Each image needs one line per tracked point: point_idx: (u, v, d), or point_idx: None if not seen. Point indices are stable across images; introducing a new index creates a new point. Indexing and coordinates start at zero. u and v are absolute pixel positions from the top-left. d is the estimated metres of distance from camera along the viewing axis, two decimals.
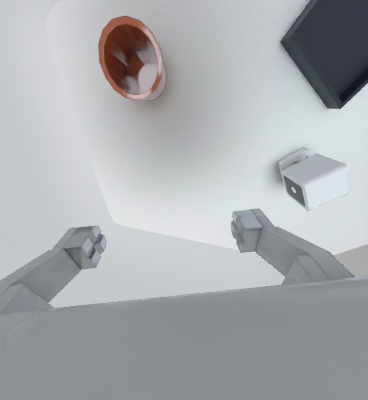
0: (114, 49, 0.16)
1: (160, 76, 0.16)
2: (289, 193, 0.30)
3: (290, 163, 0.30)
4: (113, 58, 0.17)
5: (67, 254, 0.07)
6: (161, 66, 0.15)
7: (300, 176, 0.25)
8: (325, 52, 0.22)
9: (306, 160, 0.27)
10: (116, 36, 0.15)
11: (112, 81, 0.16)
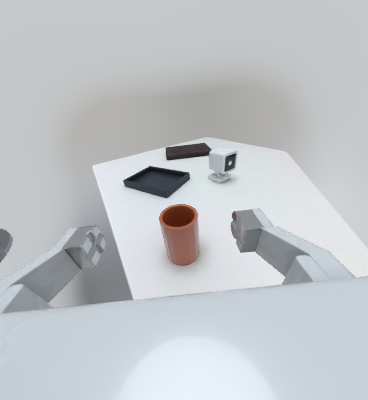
0: None
1: (183, 204, 0.26)
2: (234, 166, 0.49)
3: (218, 177, 0.51)
4: None
5: (67, 254, 0.07)
6: (179, 204, 0.27)
7: (220, 161, 0.45)
8: (170, 185, 0.51)
9: (213, 168, 0.49)
10: None
11: (188, 224, 0.22)
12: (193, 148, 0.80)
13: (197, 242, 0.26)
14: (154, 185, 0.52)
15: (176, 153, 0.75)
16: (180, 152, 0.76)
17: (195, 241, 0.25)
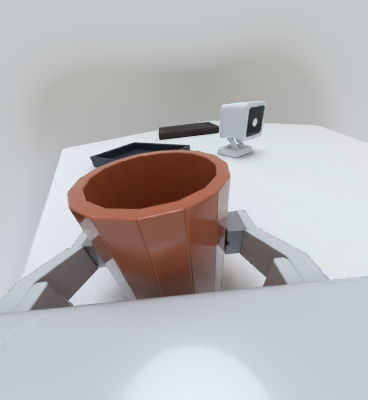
0: None
1: (176, 150, 0.09)
2: (259, 130, 0.31)
3: (233, 149, 0.34)
4: None
5: (86, 252, 0.07)
6: (162, 151, 0.09)
7: (241, 118, 0.28)
8: None
9: (226, 134, 0.32)
10: None
11: (195, 194, 0.04)
12: (194, 126, 0.62)
13: (220, 268, 0.08)
14: None
15: (172, 131, 0.57)
16: (177, 129, 0.58)
17: (217, 266, 0.07)
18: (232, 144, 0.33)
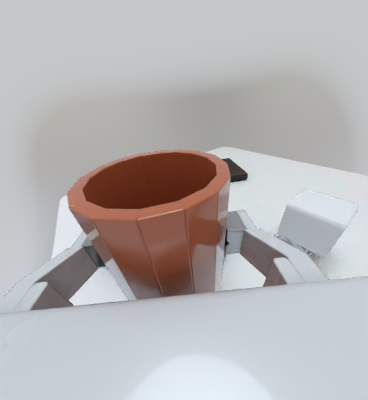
0: None
1: (176, 150, 0.09)
2: None
3: None
4: None
5: (86, 252, 0.07)
6: (162, 151, 0.09)
7: (326, 235, 0.18)
8: None
9: (291, 238, 0.22)
10: None
11: (195, 194, 0.04)
12: None
13: (220, 268, 0.08)
14: None
15: None
16: None
17: (217, 266, 0.07)
18: (294, 244, 0.24)
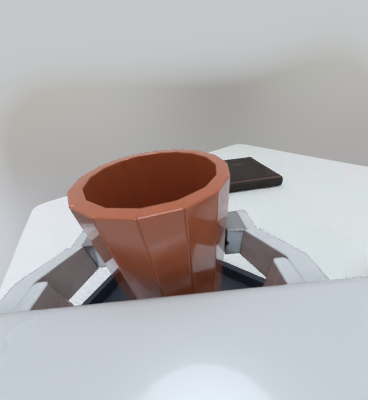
0: None
1: (176, 150, 0.09)
2: None
3: None
4: None
5: (86, 252, 0.07)
6: (162, 150, 0.09)
7: None
8: None
9: None
10: None
11: (195, 194, 0.04)
12: (236, 169, 0.41)
13: (220, 267, 0.08)
14: None
15: None
16: None
17: (217, 266, 0.07)
18: None
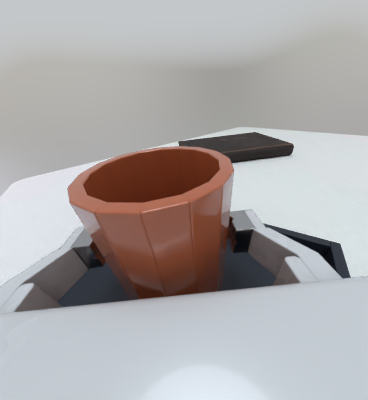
0: None
1: (177, 147, 0.09)
2: None
3: None
4: None
5: (75, 253, 0.07)
6: (163, 147, 0.09)
7: None
8: None
9: None
10: None
11: (199, 188, 0.04)
12: (240, 141, 0.37)
13: (223, 265, 0.08)
14: None
15: None
16: (215, 149, 0.33)
17: (220, 263, 0.07)
18: None
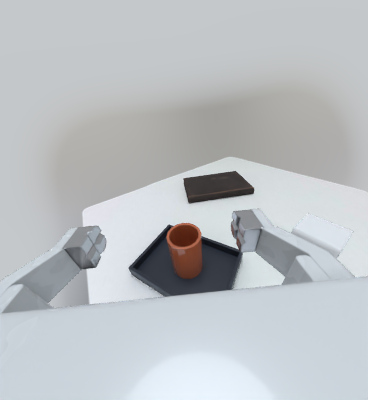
0: None
1: (188, 223, 0.29)
2: None
3: None
4: None
5: (67, 254, 0.07)
6: (183, 223, 0.29)
7: None
8: (215, 282, 0.28)
9: None
10: None
11: (193, 243, 0.25)
12: (223, 181, 0.57)
13: (201, 258, 0.28)
14: (184, 280, 0.29)
15: (202, 192, 0.52)
16: (207, 190, 0.53)
17: (199, 257, 0.27)
18: None
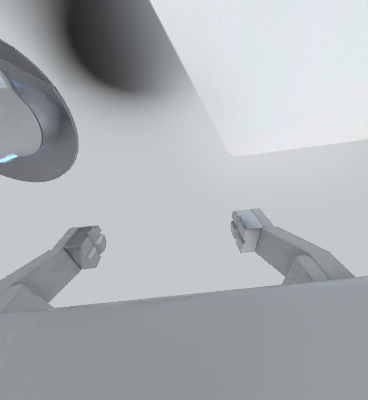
0: None
1: None
2: None
3: None
4: None
5: (67, 254, 0.07)
6: None
7: None
8: None
9: None
10: None
11: None
12: None
13: None
14: None
15: None
16: None
17: None
18: None
